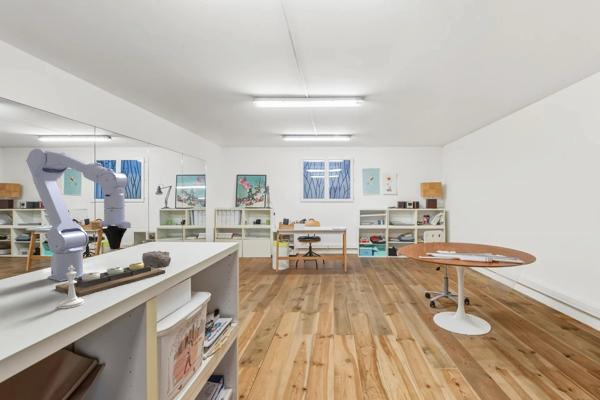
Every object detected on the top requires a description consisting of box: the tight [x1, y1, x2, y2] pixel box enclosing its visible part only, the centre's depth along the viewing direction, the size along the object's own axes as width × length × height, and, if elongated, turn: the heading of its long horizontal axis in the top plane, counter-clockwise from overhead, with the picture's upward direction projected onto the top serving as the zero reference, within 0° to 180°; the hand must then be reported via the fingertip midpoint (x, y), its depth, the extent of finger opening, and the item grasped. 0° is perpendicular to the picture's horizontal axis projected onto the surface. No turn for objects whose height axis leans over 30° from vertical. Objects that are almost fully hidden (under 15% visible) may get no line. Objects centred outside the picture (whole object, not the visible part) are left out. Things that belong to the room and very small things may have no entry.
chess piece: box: [58, 265, 85, 310], centre depth 69 cm, size 5×5×10 cm
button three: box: [128, 262, 144, 270], centre depth 95 cm, size 4×4×3 cm
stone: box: [141, 250, 172, 268], centre depth 109 cm, size 8×10×6 cm
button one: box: [81, 271, 101, 281], centre depth 83 cm, size 4×4×3 cm
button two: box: [106, 266, 124, 275], centre depth 89 cm, size 4×4×3 cm
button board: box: [55, 265, 166, 297], centre depth 89 cm, size 14×26×3 cm, turn 153°
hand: (114, 249), depth 91 cm, fingers closed
